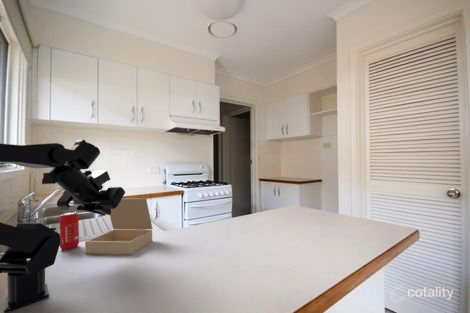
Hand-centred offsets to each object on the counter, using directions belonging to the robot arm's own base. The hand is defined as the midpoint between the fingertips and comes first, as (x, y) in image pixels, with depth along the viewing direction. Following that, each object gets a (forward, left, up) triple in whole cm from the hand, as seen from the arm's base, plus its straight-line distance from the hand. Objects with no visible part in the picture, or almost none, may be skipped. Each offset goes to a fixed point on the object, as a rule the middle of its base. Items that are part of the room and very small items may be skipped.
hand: (107, 213), depth 67 cm
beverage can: (+18, +8, -13) cm, 23 cm away
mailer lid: (+5, -8, -3) cm, 10 cm away
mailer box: (+3, -4, -13) cm, 14 cm away
